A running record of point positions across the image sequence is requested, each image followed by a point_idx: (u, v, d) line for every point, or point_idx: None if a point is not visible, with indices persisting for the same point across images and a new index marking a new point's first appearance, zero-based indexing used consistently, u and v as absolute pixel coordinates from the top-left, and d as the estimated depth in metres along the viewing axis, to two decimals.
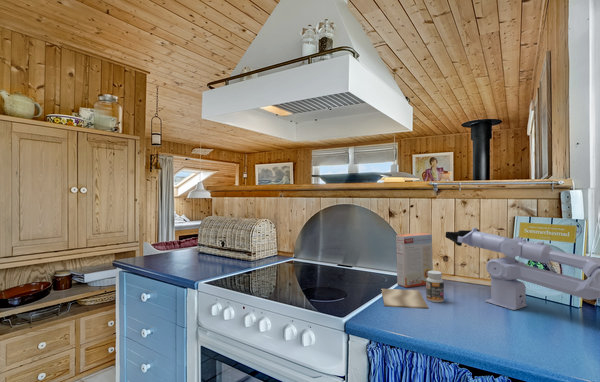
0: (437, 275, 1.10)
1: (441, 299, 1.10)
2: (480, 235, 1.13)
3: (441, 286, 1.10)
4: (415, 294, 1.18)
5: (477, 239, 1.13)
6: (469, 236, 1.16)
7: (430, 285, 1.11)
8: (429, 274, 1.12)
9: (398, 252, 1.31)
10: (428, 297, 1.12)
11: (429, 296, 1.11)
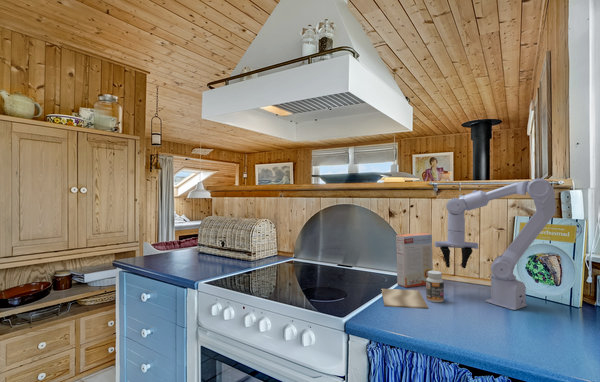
0: (437, 275, 1.10)
1: (441, 299, 1.10)
2: None
3: (441, 286, 1.10)
4: (415, 294, 1.18)
5: None
6: (446, 242, 1.19)
7: (430, 285, 1.11)
8: (429, 274, 1.12)
9: (398, 252, 1.31)
10: (428, 297, 1.12)
11: (429, 296, 1.11)
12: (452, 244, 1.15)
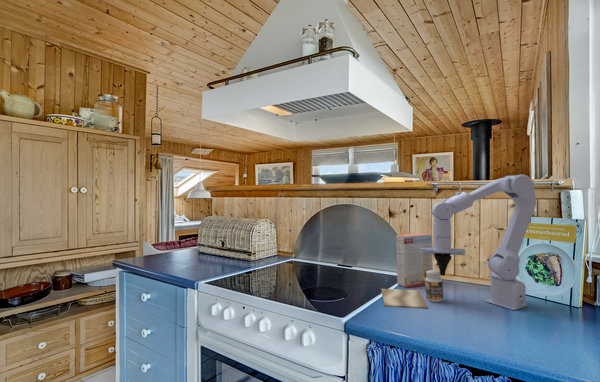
0: (435, 274, 1.10)
1: (441, 298, 1.10)
2: None
3: (440, 285, 1.10)
4: (415, 294, 1.18)
5: (433, 240, 1.13)
6: (432, 248, 1.14)
7: (429, 285, 1.11)
8: (427, 274, 1.12)
9: (398, 252, 1.31)
10: (428, 297, 1.12)
11: (428, 296, 1.11)
12: (438, 251, 1.10)
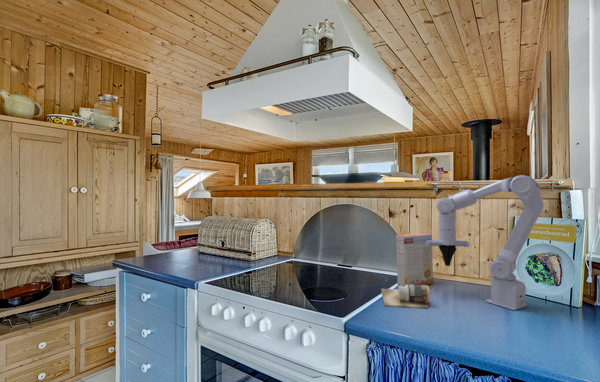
0: None
1: (426, 301, 1.07)
2: None
3: (412, 300, 1.08)
4: None
5: None
6: (438, 241, 1.22)
7: None
8: None
9: (398, 252, 1.31)
10: None
11: None
12: (443, 243, 1.18)
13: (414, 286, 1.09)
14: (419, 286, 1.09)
